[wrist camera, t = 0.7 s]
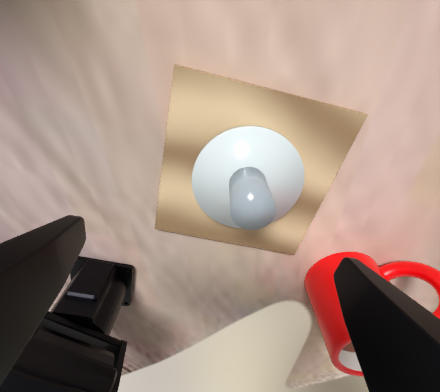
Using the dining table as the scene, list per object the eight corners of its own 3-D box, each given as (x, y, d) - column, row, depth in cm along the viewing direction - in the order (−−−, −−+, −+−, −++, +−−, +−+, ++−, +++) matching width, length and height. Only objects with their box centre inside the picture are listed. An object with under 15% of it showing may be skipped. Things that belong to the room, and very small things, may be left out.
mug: (426, 269, 26) (499, 345, 19) (321, 309, 29) (351, 385, 23) (407, 220, 23) (486, 291, 16) (292, 272, 26) (316, 347, 19)
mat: (292, 251, 25) (294, 254, 24) (156, 225, 23) (154, 228, 23) (364, 113, 18) (367, 114, 17) (175, 64, 16) (174, 64, 16)
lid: (279, 230, 23) (292, 269, 19) (185, 213, 22) (176, 250, 18) (320, 139, 18) (349, 164, 14) (203, 112, 17) (198, 130, 13)
